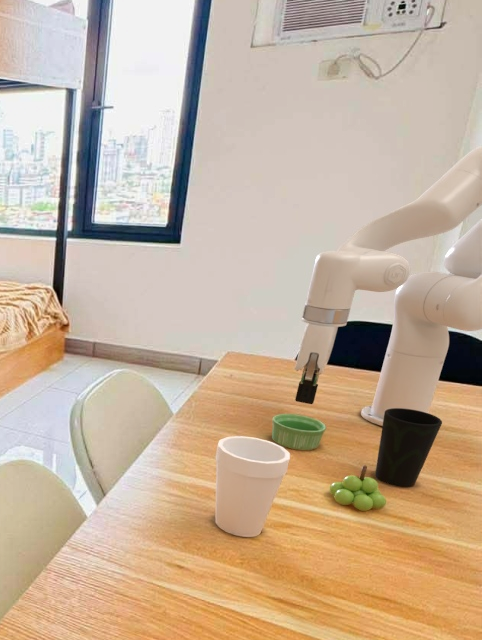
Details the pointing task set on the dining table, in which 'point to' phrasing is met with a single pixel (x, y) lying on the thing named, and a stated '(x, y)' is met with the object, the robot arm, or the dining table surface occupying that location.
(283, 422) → the ramekin
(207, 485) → the dining table surface
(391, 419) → the cup
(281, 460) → the foam cup
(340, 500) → the grapes
